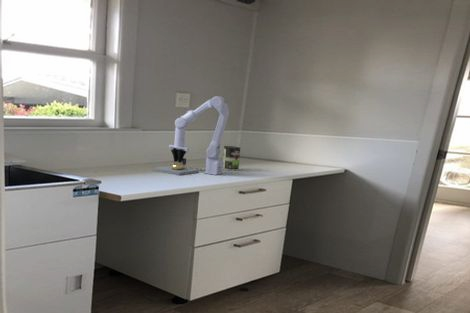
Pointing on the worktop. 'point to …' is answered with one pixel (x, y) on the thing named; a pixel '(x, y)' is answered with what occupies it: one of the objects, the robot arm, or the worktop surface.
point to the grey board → (173, 171)
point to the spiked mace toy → (179, 165)
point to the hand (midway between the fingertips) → (177, 162)
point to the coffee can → (231, 158)
